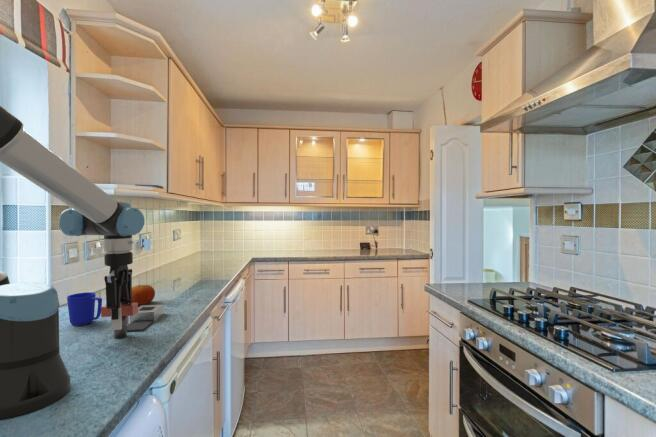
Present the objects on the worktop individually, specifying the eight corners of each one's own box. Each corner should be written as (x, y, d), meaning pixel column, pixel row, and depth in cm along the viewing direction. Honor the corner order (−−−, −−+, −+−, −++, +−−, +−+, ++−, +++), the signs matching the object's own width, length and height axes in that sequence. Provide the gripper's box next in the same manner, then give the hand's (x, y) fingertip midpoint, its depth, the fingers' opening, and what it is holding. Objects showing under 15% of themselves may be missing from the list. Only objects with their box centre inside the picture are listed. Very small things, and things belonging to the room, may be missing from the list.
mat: (143, 330, 114) (143, 329, 114) (120, 332, 113) (120, 330, 113) (153, 322, 123) (153, 320, 122) (132, 323, 122) (132, 321, 122)
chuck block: (153, 321, 123) (153, 312, 123) (129, 323, 122) (129, 313, 122) (163, 313, 133) (163, 304, 133) (141, 314, 132) (141, 305, 132)
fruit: (126, 303, 149) (126, 285, 148) (153, 300, 154) (153, 282, 154) (128, 309, 140) (127, 289, 139) (156, 305, 145) (156, 286, 145)
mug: (91, 328, 117) (90, 298, 117) (61, 326, 119) (60, 297, 119) (111, 320, 125) (110, 293, 125) (82, 319, 127) (82, 291, 127)
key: (133, 338, 107) (132, 305, 107) (101, 339, 106) (101, 307, 106) (138, 333, 111) (137, 302, 111) (108, 335, 110) (107, 303, 110)
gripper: (118, 255, 100) (120, 335, 100) (142, 248, 117) (144, 317, 117) (90, 255, 99) (92, 337, 99) (118, 249, 116) (120, 319, 116)
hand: (120, 326), depth 108 cm, fingers open, 4 cm apart
